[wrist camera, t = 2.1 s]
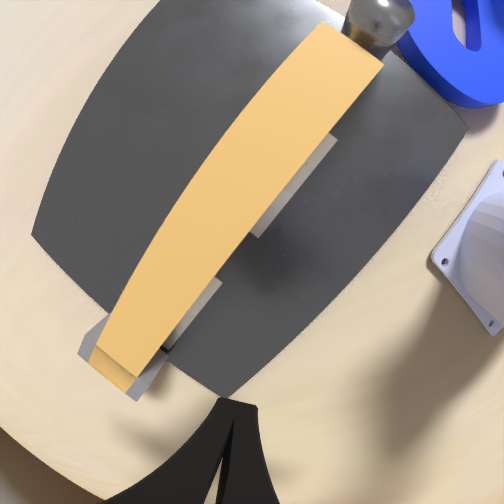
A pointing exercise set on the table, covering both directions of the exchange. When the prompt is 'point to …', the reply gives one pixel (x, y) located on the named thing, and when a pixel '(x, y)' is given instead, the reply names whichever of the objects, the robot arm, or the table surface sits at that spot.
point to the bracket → (458, 51)
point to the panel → (203, 142)
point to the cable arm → (227, 202)
